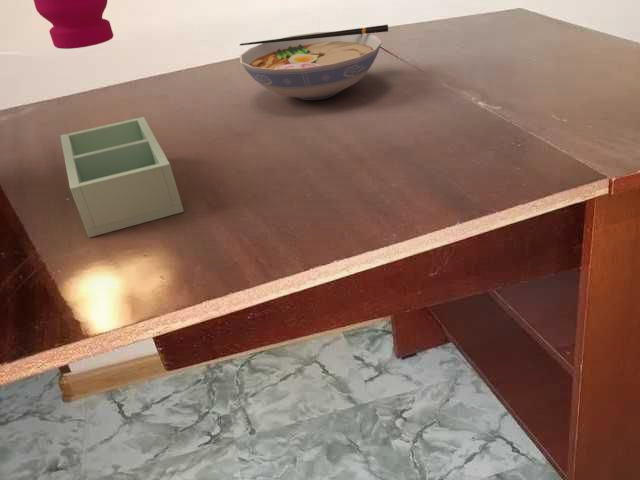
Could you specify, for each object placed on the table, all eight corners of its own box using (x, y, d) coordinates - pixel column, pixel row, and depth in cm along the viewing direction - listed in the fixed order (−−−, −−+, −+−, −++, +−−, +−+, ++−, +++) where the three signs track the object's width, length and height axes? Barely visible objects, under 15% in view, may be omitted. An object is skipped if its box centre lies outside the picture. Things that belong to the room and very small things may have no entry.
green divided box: (88, 238, 77) (69, 188, 74) (76, 178, 93) (60, 135, 90) (184, 211, 81) (169, 163, 78) (156, 158, 96) (143, 116, 93)
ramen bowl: (229, 124, 106) (216, 70, 102) (254, 80, 125) (244, 34, 121) (393, 109, 106) (387, 54, 101) (392, 67, 125) (388, 20, 121)
